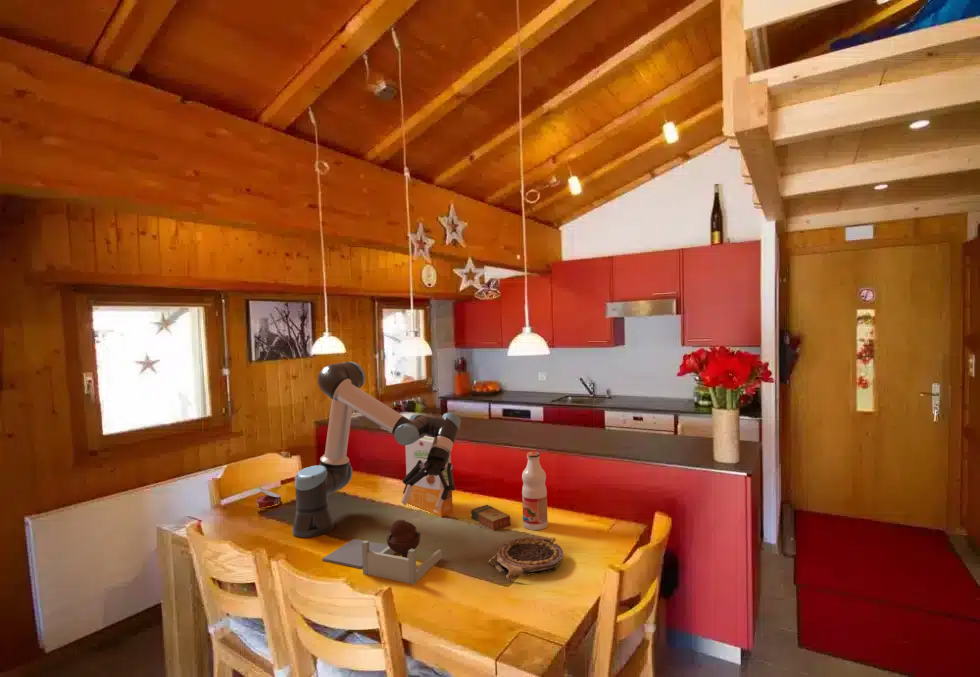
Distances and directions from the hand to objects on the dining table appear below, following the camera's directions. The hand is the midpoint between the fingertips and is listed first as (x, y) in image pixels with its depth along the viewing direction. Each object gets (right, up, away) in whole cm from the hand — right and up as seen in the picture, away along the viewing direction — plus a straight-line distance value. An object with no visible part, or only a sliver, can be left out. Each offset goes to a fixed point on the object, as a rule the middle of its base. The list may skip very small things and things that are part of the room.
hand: (420, 505), depth 168 cm
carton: (+24, -15, +25) cm, 38 cm away
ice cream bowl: (-4, -17, -9) cm, 19 cm away
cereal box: (-2, -15, +41) cm, 44 cm away
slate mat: (-22, -17, 0) cm, 27 cm away
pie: (+37, -16, -9) cm, 42 cm away
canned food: (-75, -17, +52) cm, 93 cm away
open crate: (-4, -16, -9) cm, 19 cm away
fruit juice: (+41, -14, +20) cm, 48 cm away
